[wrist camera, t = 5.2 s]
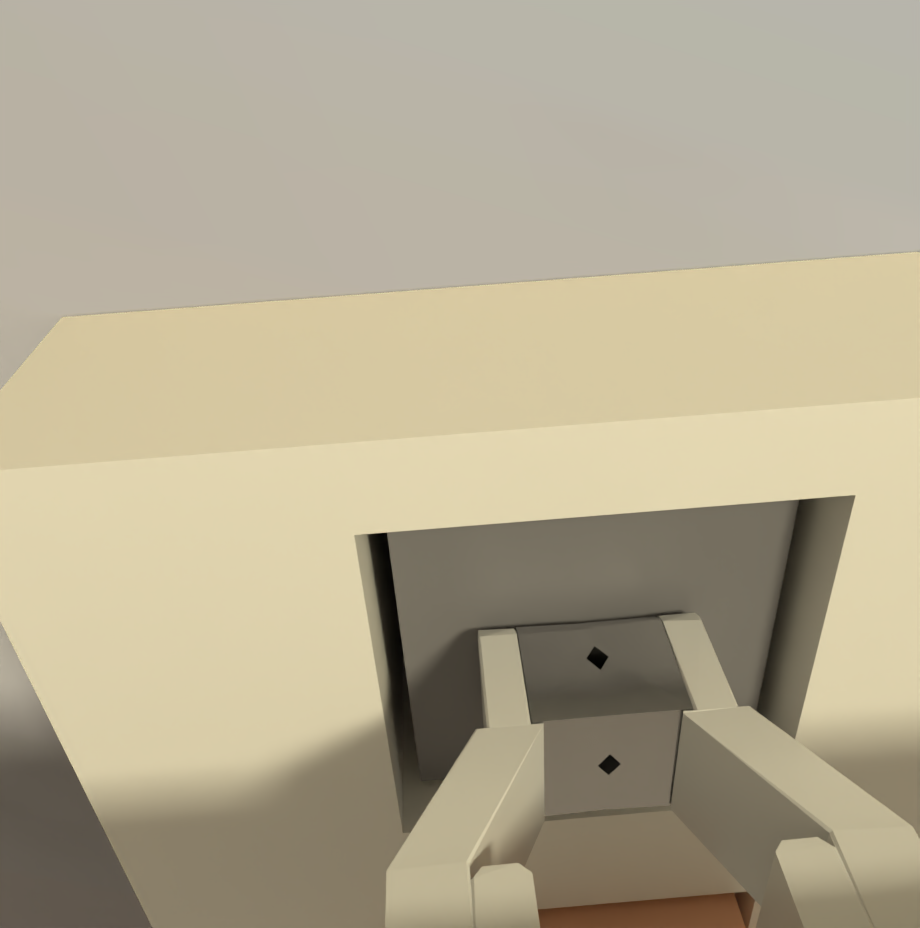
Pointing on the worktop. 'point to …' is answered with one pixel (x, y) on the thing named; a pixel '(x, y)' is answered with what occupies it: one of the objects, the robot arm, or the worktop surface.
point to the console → (429, 507)
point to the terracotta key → (650, 914)
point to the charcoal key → (579, 596)
